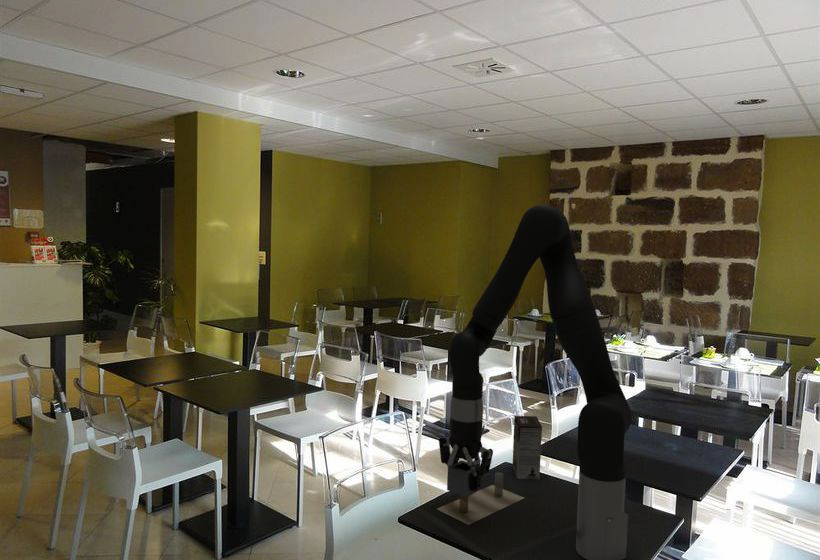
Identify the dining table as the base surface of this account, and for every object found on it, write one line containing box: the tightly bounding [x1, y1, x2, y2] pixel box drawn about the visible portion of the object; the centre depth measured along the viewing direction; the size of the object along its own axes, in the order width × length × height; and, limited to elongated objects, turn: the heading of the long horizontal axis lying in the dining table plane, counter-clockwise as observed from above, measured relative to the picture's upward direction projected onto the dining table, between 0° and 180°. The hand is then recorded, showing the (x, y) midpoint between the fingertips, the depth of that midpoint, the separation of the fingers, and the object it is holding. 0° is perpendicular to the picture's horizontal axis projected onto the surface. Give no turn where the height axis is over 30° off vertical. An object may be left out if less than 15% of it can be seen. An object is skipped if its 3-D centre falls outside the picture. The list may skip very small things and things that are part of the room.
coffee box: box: [512, 415, 543, 480], centre depth 162 cm, size 9×6×16 cm
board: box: [436, 472, 525, 525], centre depth 143 cm, size 21×10×8 cm, turn 133°
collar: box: [446, 459, 482, 497], centre depth 138 cm, size 6×6×6 cm
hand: (463, 486), depth 138 cm, fingers closed on collar, 5 cm apart
